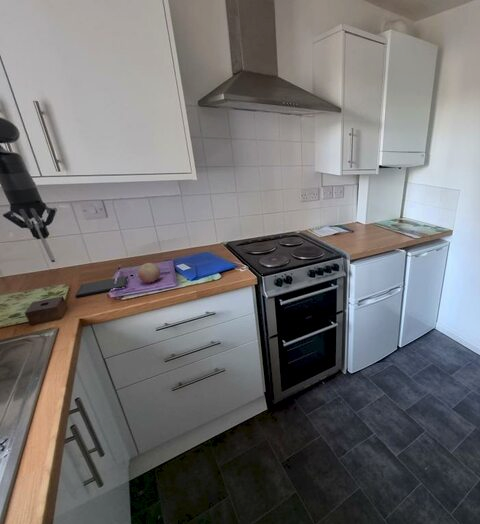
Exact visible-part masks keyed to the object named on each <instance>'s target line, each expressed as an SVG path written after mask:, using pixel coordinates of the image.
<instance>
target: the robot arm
mask: <svg viewBox="0 0 480 524" xmlns="http://www.w3.org/2000/svg"><path fill="white" fill-rule="evenodd" d="M20 133H21V132H20V130H19V128H18V127H17V126H16V125H15V124H14V122H11V121H10V120H8V119H6V118H3V117H0V187H1V189H2V191H3V193H4V196H5V198H6V200H7V202H8V203H9V205H10V206H9V210H8V211H7V212H4V213H3V214H2V217H3V218H5V219H6V220H8V221H10V222H11V223H13V224H14V225H16V226H18V227H19V228H21V229H28V230H29V231H30V233H31V235H32V238H34V239H36V240H41V239H40V237H39V235H38V232H37V230H36V228H35V226H34V224H38V226H39V227H40V228H39V230H40V232H41V234H42V236H43V238H45V239H48V238H49V236H50V231H49V230H48V227H47V226H50V225H51V224H52V223H53V221H54V219H55V217H56V214H57V211H58V209H57V208H56V207H51V206H47V204H46V203H45V202H44V201H43V199H42V197H41V194H40V192H39V190H38V187H37V185H36V182H35V181H34V178H33V177H32V176H31V173H30V172H29V169H28V167H27V165H26V163H25V161H24V159H23V157H22V155H21V154H20V153H19V152H15V151H10V150H7V149H5V147H4V146H3V145H2V144H14V143H16V142H17V141H18V140H19V139H20V136H21V134H20ZM45 211H46V214H48V215H47V217H46V220H45V217H44V214H45ZM17 216H18V217H17ZM19 217H20V218H19ZM21 218H22V219H21ZM34 220H35V221H34ZM35 222H36V223H35Z"/></svg>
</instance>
